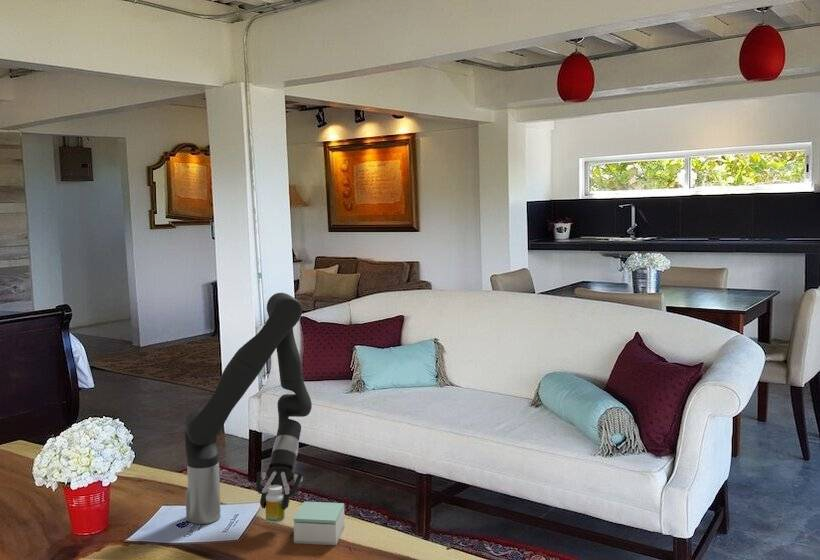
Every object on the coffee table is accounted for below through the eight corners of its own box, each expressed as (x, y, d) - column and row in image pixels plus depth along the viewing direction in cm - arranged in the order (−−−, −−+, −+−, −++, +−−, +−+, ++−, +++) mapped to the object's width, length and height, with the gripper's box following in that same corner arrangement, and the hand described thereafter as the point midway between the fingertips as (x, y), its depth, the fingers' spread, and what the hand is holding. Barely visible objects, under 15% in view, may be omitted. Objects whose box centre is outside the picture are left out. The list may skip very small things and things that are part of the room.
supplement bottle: (280, 524, 216) (280, 491, 215) (262, 522, 217) (262, 490, 216) (287, 516, 221) (287, 484, 220) (269, 514, 222) (269, 482, 221)
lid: (293, 521, 211) (293, 518, 211) (304, 504, 223) (304, 501, 223) (335, 523, 210) (335, 520, 210) (344, 505, 221) (344, 503, 221)
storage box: (294, 543, 212) (293, 522, 211) (304, 524, 224) (304, 505, 223) (336, 545, 210) (335, 524, 210) (344, 526, 222) (344, 506, 222)
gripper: (258, 446, 225) (246, 501, 214) (305, 449, 224) (295, 504, 213) (263, 457, 231) (251, 511, 220) (309, 460, 229) (300, 514, 219)
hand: (273, 507), depth 217 cm, fingers closed on supplement bottle, 5 cm apart
